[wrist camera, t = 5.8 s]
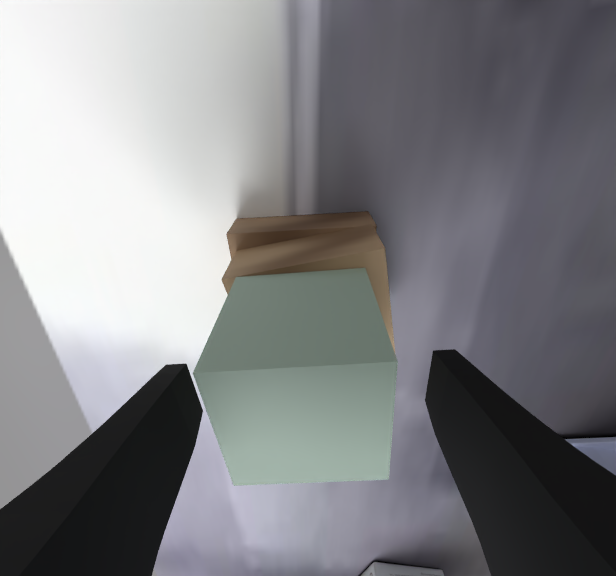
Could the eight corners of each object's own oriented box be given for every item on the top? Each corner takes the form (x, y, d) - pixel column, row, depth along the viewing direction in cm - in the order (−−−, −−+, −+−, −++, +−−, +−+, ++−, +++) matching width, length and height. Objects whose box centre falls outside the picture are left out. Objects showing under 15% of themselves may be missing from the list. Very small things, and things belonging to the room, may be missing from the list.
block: (365, 267, 10) (398, 361, 7) (364, 365, 13) (388, 479, 9) (235, 276, 11) (192, 373, 7) (257, 371, 13) (233, 485, 9)
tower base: (366, 208, 15) (376, 225, 12) (362, 314, 18) (370, 343, 15) (238, 215, 15) (226, 234, 13) (256, 319, 18) (249, 348, 16)
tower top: (371, 223, 12) (385, 248, 10) (384, 334, 15) (397, 371, 13) (236, 251, 13) (221, 279, 11) (271, 352, 16) (265, 391, 13)
